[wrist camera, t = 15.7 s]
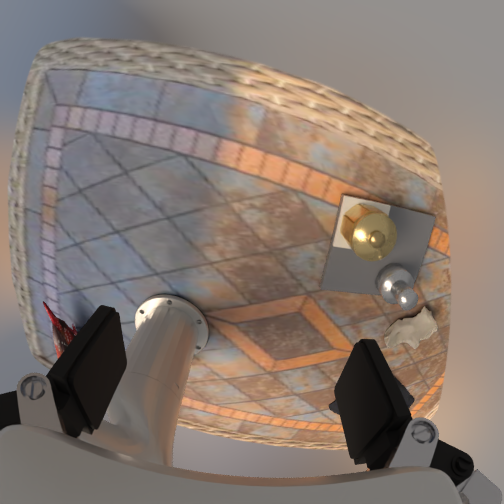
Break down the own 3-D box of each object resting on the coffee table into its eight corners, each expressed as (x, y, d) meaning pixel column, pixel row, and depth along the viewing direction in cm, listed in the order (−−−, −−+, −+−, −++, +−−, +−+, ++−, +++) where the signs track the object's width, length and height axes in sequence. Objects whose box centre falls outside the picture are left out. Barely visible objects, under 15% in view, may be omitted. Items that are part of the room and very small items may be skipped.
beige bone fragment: (378, 328, 44) (386, 344, 40) (426, 298, 42) (438, 312, 38) (386, 347, 46) (394, 362, 42) (431, 319, 44) (441, 332, 40)
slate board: (406, 294, 42) (408, 297, 41) (319, 286, 41) (320, 289, 40) (432, 215, 36) (435, 217, 35) (341, 193, 36) (343, 195, 35)
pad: (376, 251, 38) (378, 253, 37) (332, 244, 37) (333, 246, 37) (388, 205, 35) (390, 206, 35) (343, 195, 35) (345, 196, 34)
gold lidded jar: (385, 208, 35) (405, 220, 29) (375, 249, 37) (392, 266, 32) (345, 200, 34) (361, 211, 29) (336, 244, 37) (349, 261, 31)
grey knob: (398, 295, 40) (416, 318, 34) (370, 292, 40) (387, 317, 34) (409, 265, 38) (431, 285, 32) (381, 260, 38) (401, 282, 32)
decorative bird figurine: (82, 356, 48) (61, 387, 39) (55, 283, 42) (25, 312, 33) (92, 358, 48) (72, 391, 39) (66, 284, 42) (36, 314, 33)
